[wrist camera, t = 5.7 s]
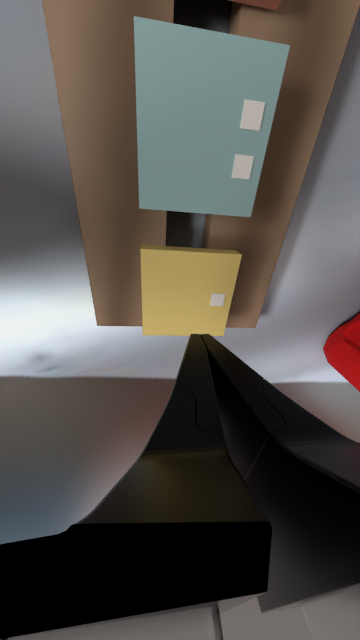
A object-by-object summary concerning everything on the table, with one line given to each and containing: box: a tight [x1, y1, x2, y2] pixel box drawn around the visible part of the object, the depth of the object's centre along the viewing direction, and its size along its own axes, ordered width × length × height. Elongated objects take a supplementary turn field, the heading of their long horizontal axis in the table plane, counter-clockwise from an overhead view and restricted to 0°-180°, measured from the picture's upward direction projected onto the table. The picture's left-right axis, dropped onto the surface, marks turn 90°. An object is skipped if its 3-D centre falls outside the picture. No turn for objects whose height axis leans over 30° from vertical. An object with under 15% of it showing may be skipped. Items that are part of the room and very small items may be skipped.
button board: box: [42, 0, 360, 328], centre depth 12 cm, size 14×24×2 cm, turn 176°
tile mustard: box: [140, 245, 242, 336], centre depth 14 cm, size 6×6×3 cm
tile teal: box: [134, 16, 290, 217], centre depth 10 cm, size 6×6×3 cm
